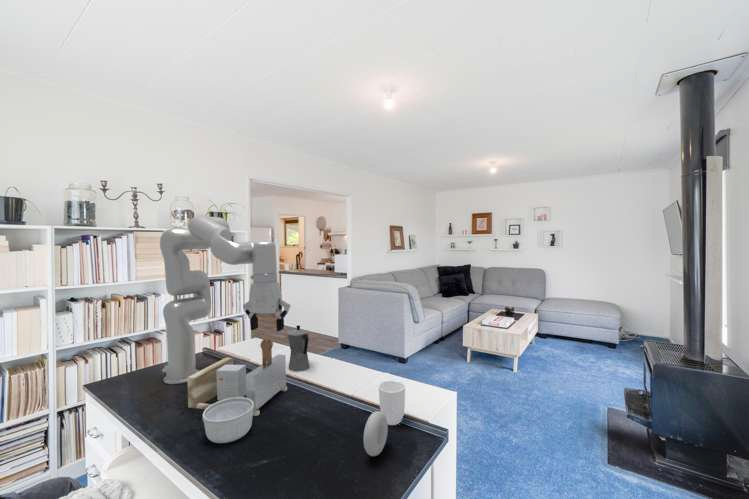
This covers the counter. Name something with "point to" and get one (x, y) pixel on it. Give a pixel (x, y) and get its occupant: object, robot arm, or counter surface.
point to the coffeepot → (298, 349)
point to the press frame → (207, 386)
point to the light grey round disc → (375, 433)
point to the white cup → (392, 401)
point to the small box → (231, 381)
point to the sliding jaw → (266, 376)
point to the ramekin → (228, 419)
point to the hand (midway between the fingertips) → (267, 329)
